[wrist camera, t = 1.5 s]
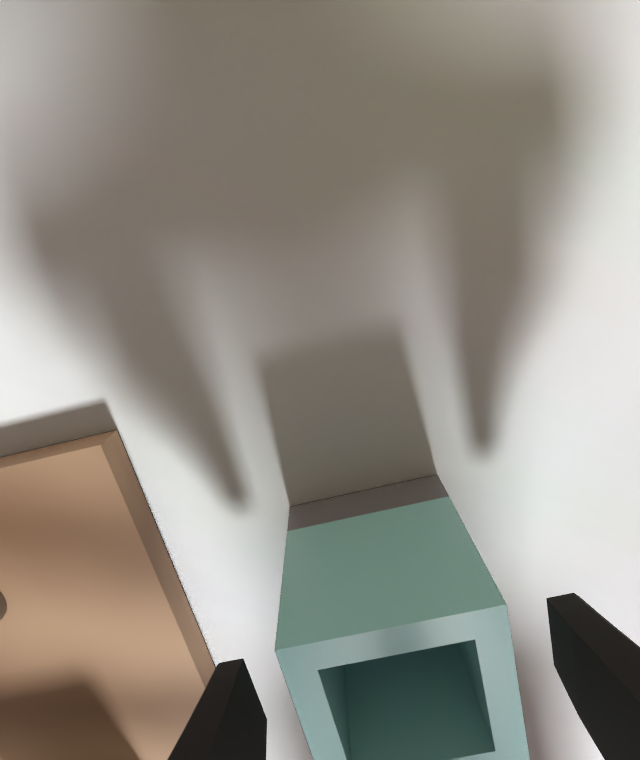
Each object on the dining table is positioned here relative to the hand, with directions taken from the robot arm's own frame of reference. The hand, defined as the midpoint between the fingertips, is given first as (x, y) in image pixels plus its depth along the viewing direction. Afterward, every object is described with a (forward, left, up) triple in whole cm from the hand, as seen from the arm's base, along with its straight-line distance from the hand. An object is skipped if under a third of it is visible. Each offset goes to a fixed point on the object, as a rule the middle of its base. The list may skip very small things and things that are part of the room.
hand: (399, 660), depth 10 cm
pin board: (-3, +12, -4) cm, 13 cm away
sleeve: (0, 0, -4) cm, 4 cm away
